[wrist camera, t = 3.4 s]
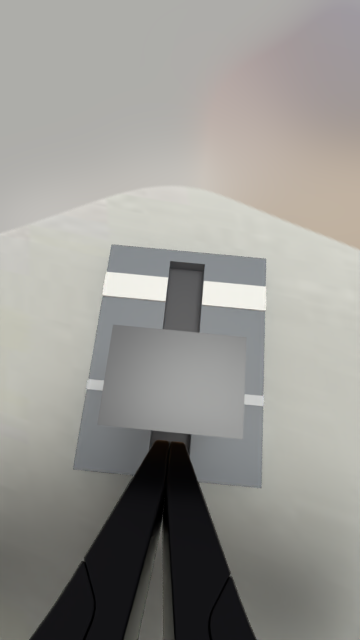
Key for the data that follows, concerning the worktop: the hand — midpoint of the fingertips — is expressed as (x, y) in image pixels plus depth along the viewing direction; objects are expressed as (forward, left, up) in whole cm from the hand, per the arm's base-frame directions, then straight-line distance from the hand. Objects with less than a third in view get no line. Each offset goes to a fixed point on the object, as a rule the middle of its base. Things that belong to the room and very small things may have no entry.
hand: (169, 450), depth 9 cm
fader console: (+3, +2, -8) cm, 9 cm away
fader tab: (+1, +1, -7) cm, 8 cm away
